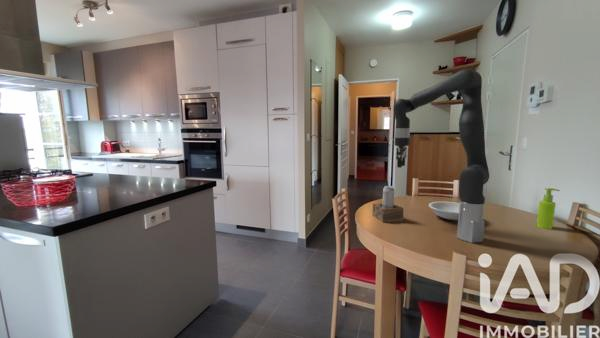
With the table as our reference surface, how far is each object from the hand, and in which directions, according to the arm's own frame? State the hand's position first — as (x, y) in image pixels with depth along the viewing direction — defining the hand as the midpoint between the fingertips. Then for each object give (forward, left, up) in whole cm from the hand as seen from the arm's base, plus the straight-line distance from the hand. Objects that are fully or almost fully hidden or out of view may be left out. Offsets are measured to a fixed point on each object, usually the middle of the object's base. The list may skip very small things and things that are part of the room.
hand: (401, 166), depth 146 cm
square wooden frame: (+1, +7, -29) cm, 30 cm away
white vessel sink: (-7, -28, -30) cm, 42 cm away
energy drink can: (+1, +6, -26) cm, 27 cm away
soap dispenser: (-29, -64, -29) cm, 77 cm away
